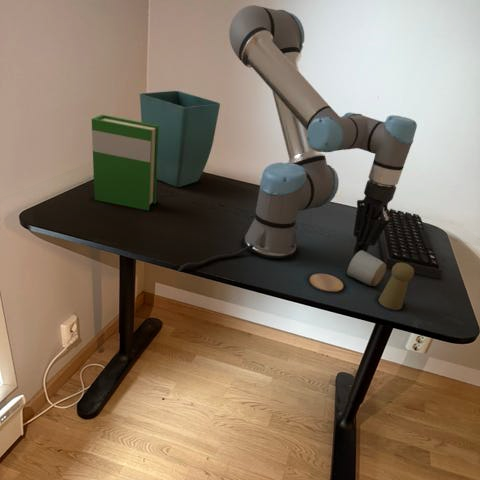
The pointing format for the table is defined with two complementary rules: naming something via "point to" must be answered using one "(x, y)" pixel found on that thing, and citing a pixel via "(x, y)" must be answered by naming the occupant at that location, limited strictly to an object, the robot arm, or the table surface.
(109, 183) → the hardback book
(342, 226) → the table surface
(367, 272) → the ceramic mug
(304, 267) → the table surface
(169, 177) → the flower pot
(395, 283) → the pepper shaker
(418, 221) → the computer keyboard
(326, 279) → the cork coaster
